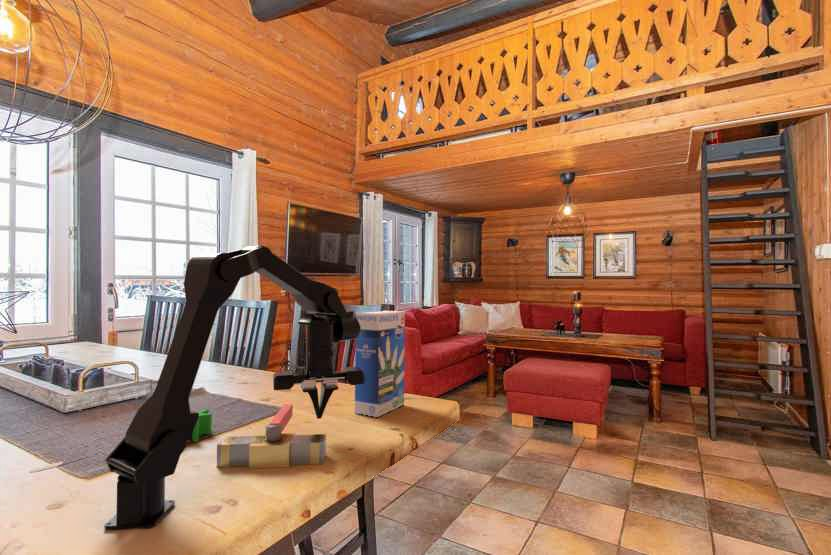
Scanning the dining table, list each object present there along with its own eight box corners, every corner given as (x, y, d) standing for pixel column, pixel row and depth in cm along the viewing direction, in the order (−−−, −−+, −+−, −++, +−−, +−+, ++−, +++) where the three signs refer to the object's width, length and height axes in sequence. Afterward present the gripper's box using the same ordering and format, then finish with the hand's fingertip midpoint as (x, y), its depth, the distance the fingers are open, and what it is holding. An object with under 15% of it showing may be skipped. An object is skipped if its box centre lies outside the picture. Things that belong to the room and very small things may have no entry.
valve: (322, 466, 78) (322, 444, 78) (214, 469, 76) (214, 446, 76) (326, 453, 84) (326, 432, 84) (226, 455, 82) (226, 434, 82)
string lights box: (377, 418, 105) (378, 313, 105) (352, 413, 109) (353, 312, 109) (405, 405, 116) (406, 310, 116) (382, 401, 120) (383, 309, 120)
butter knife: (27, 467, 76) (31, 471, 74) (184, 428, 97) (191, 430, 95) (27, 471, 76) (31, 474, 74) (184, 431, 97) (191, 433, 95)
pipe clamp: (187, 449, 86) (187, 426, 86) (170, 447, 86) (170, 425, 86) (219, 429, 97) (219, 409, 97) (203, 428, 97) (204, 408, 97)
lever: (279, 440, 79) (279, 426, 79) (263, 441, 78) (263, 427, 78) (294, 416, 93) (294, 404, 93) (281, 416, 93) (281, 404, 93)
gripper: (355, 338, 102) (354, 404, 102) (273, 341, 95) (272, 411, 95) (365, 345, 91) (365, 418, 91) (274, 349, 85) (273, 427, 85)
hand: (318, 418), depth 91 cm, fingers closed
